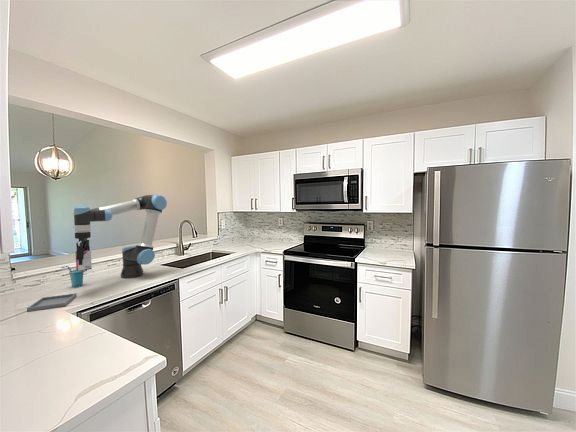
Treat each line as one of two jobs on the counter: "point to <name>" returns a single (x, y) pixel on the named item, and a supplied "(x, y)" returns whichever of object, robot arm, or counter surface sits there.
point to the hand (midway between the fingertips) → (84, 268)
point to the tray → (52, 302)
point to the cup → (76, 277)
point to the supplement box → (86, 261)
